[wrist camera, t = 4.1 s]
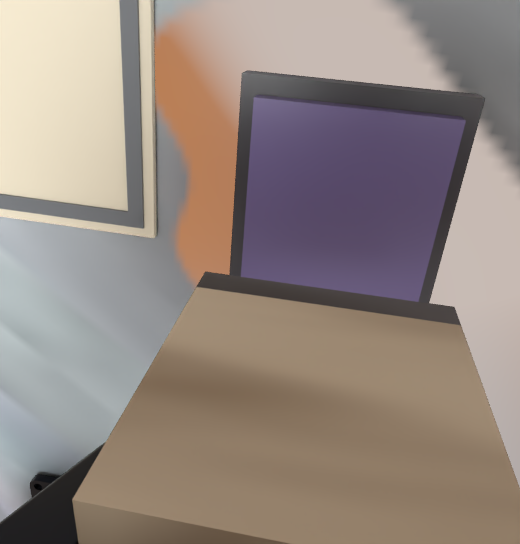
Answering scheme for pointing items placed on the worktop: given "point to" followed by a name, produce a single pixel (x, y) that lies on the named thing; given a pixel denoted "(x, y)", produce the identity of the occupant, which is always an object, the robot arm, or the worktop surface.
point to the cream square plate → (78, 114)
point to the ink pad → (347, 182)
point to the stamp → (304, 428)
